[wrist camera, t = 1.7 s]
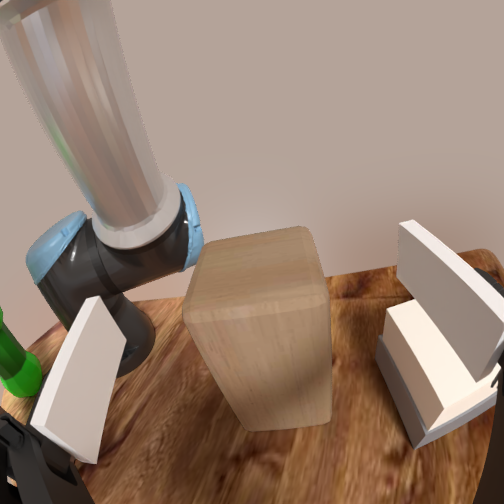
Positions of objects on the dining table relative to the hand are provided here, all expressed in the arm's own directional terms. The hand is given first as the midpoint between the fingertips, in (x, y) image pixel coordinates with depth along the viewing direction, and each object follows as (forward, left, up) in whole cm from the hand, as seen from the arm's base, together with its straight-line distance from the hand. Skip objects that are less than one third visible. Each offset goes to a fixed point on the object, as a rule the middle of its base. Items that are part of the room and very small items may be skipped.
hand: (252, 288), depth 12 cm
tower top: (-4, +19, -20) cm, 27 cm away
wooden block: (-9, 0, -25) cm, 26 cm away
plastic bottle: (-14, -46, -25) cm, 54 cm away
